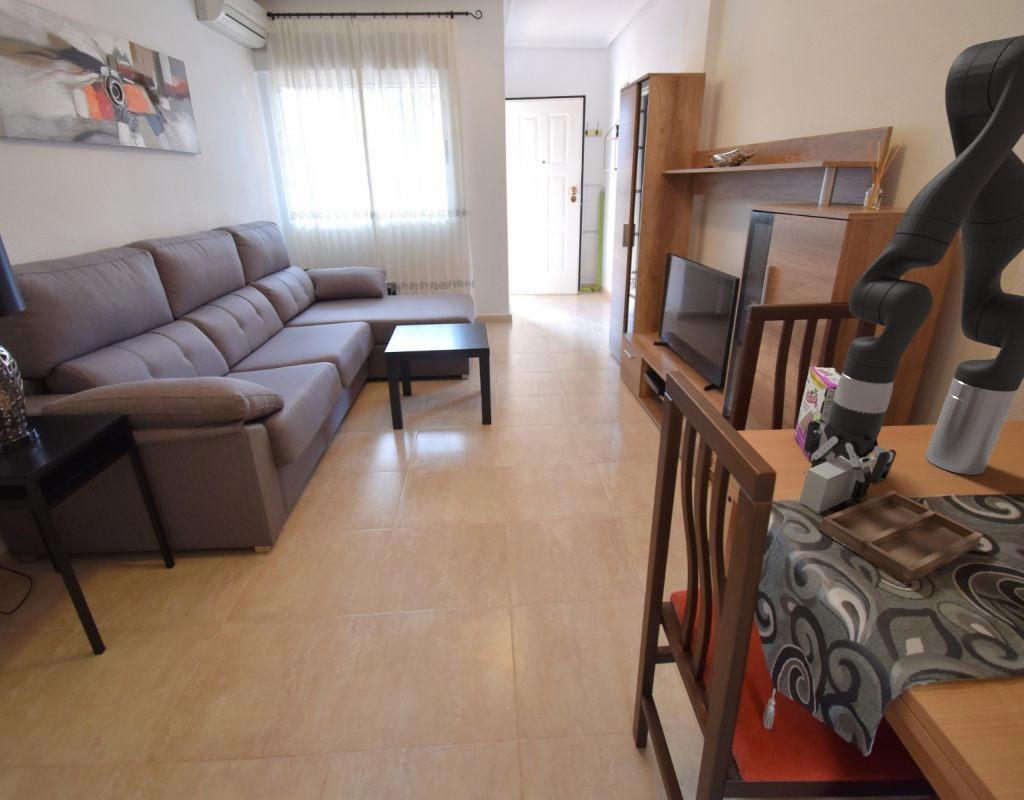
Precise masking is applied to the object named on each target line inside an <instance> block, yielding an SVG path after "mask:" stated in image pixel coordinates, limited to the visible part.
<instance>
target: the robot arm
mask: <svg viewBox="0 0 1024 800" xmlns="http://www.w3.org/2000/svg"><path fill="white" fill-rule="evenodd" d="M944 101H945V102H944V104H945V111H946V117H947V123H948V128H949V131H950V133H949V134H950V137H951V141H952V146H953V153H954V156H955V159H954V160H953V161H951V162H950V163H949V164H948V165H947V166H946V167H944V168H943V169H941V171H940V172H938V173H937V174H936V175H935V176H934V177H933V178H932V179H931V180H930V181H928V183H926V184H925V185H924V187H922V189H921V190H920V191H919V192H918V193H917V194H916V195H915V196H914V198H913V199H912V201H911V202H910V203H909V205H908V207H907V208H906V210H905V212H904V214H903V215H902V216H903V217H902V218H901V220H900V223H899V224H898V226H897V228H896V229H895V232H894V234H893V235H892V238H891V239H890V241H889V244H888V245H887V246H886V247H885V248H884V249H883V251H882V252H881V253H880V254H878V256H877V257H876V259H875V260H874V261H873V262H872V264H870V265H869V267H868V268H867V269H866V270H865V271H864V273H863V274H861V276H860V277H859V279H858V280H857V281H856V282H855V284H854V286H853V287H852V289H851V291H850V294H849V299H848V310H849V312H850V314H851V315H852V316H853V317H854V318H856V319H858V320H861V321H864V322H869V323H872V324H876V325H879V326H882V327H884V329H883V331H882V333H881V334H879V336H860V337H857V338H855V339H853V340H852V342H851V343H850V345H849V347H848V350H847V354H846V358H845V362H844V365H843V368H842V373H841V374H840V375H841V378H840V380H839V382H838V385H837V388H836V391H835V396H834V399H833V403H832V407H831V411H830V415H829V418H828V422H829V423H828V424H826V423H824V421H823V420H822V419H818V420H814V421H811V422H809V424H808V430H807V435H806V440H805V446H804V450H805V451H806V452H809V453H811V454H812V457H813V462H812V463H811V466H810V468H813V467H815V466H817V465H820V464H822V463H825V462H827V459H826V458H825V457H826V456H828V455H829V454H830V453H831V452H833V453H835V454H836V456H843V457H844V458H845V459H847V460H849V461H851V464H852V468H853V469H855V471H856V475H857V478H858V480H856V482H855V485H854V488H853V492H852V495H851V498H850V499H852V500H855V501H858V500H859V499H862V498H865V497H866V496H867V495H868V492H869V489H870V486H871V485H877V484H879V483H882V482H884V481H886V480H887V478H888V475H889V473H890V471H891V469H892V466H893V464H894V461H895V459H896V456H897V451H896V450H895V449H892V448H891V449H886V448H884V447H882V446H880V445H879V443H878V438H879V437H878V436H879V435H880V433H881V429H882V427H883V423H884V420H885V417H886V415H887V414H886V413H887V411H888V407H889V404H890V401H891V397H892V396H893V395H892V394H893V388H894V387H893V386H894V382H895V378H896V374H897V371H898V369H899V365H900V362H901V359H902V357H903V355H904V353H905V352H906V350H907V349H908V347H909V346H910V344H911V343H912V342H913V339H914V338H915V336H916V334H918V332H919V330H920V329H921V327H923V325H924V323H925V322H926V321H927V319H928V317H929V316H930V314H931V311H932V310H933V306H934V298H933V293H932V291H931V289H930V288H929V286H927V285H926V284H924V283H921V282H916V281H914V280H912V281H911V280H907V279H902V278H901V277H903V276H904V275H905V274H906V273H907V272H908V271H910V270H912V269H913V270H914V269H918V268H919V269H920V268H929V267H930V268H931V267H934V266H937V265H938V264H940V263H941V261H942V260H943V258H944V257H945V256H946V253H947V251H948V250H949V248H950V246H951V245H952V243H953V240H954V238H956V235H957V234H958V232H959V230H960V236H961V237H960V238H961V243H962V244H961V245H962V256H963V257H962V263H963V285H962V299H961V310H960V327H961V332H962V333H963V336H965V338H967V339H968V340H970V341H973V342H975V343H980V344H983V345H987V346H990V347H996V348H999V349H1000V350H999V352H998V354H997V355H996V356H995V358H991V359H968V360H963V361H961V362H960V363H958V365H957V367H956V369H955V372H954V375H953V378H952V380H951V383H950V385H949V388H948V392H947V395H946V397H945V401H943V402H944V403H943V406H942V409H941V411H940V415H939V417H938V419H937V423H936V425H935V428H934V431H933V434H932V437H931V439H930V442H929V444H928V447H927V451H926V454H925V458H926V459H927V461H928V462H930V463H931V464H933V465H934V466H936V467H939V468H940V469H943V470H946V471H949V472H952V473H957V474H960V475H969V476H970V475H971V476H973V475H975V476H976V475H977V476H978V475H981V474H983V473H985V470H986V468H987V465H988V463H989V462H990V459H991V456H992V454H993V451H994V448H995V447H996V444H997V441H998V439H999V436H1000V434H1001V432H1002V430H1003V427H1004V425H1005V422H1006V419H1007V417H1008V415H1009V413H1010V410H1011V408H1012V405H1013V403H1014V400H1015V398H1016V395H1017V394H1018V391H1019V389H1020V386H1021V384H1022V381H1023V380H1024V295H1019V294H1014V293H1009V292H1004V291H1003V289H1002V286H1001V281H1002V279H1001V277H1002V273H1003V272H1004V270H1005V269H1006V268H1007V266H1008V265H1009V264H1010V263H1011V262H1012V261H1013V260H1014V259H1015V258H1016V257H1017V256H1019V254H1020V253H1022V251H1024V161H1022V159H1021V158H1020V157H1019V156H1018V155H1017V153H1015V151H1014V150H1013V149H1014V148H1015V146H1016V145H1017V143H1018V142H1019V141H1020V139H1021V138H1022V136H1023V135H1024V34H1023V35H1017V36H1012V37H1006V38H1002V39H994V40H990V41H984V42H980V43H976V44H973V45H970V46H969V47H967V48H965V49H963V50H962V51H961V52H960V53H959V54H958V55H957V57H956V58H955V59H954V61H953V62H952V64H951V66H950V67H949V70H948V74H947V77H946V82H945V90H944ZM823 432H825V435H826V438H827V440H828V441H827V442H826V443H825V444H823V445H822V446H821V447H820V448H819V445H820V440H821V435H822V433H823ZM872 453H874V457H875V464H874V467H873V470H872V467H871V465H872V459H871V456H872V455H871V454H872ZM870 455H871V456H870ZM861 458H862V461H861V462H860V460H859V459H861Z"/></svg>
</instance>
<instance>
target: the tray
mask: <svg viewBox="0 0 1024 800" xmlns="http://www.w3.org/2000/svg"><path fill="white" fill-rule="evenodd" d="M820 529H822V530H823V531H825V532H826V533H827V534H829V535H831V536H832V537H834V538H835V539H837V540H838V541H840V542H841V543H843V544H845V545H846V546H847V547H849V548H850V549H852V550H853V551H855V552H856V553H857V554H859V555H860V556H859V555H858V556H859V557H861V556H862V557H863V558H862V557H861V558H862V559H864V558H865V559H864V560H866V559H867V560H868V561H867V560H866V561H867V562H869V561H870V562H871V564H872V563H873V564H872V565H874V564H875V565H876V566H875V565H874V566H875V567H877V566H878V567H877V568H878V569H879V570H882V571H883V570H884V572H885V573H887V574H888V575H889V576H891V575H892V577H893V576H894V577H893V578H895V577H896V578H898V579H899V580H898V579H897V580H898V581H900V580H901V581H903V582H904V583H906V584H908V585H909V583H910V584H911V582H912V581H913V582H915V581H917V580H919V579H921V578H923V577H925V576H927V575H928V574H931V573H932V572H934V571H936V570H938V569H939V568H941V567H944V566H945V565H948V564H949V563H951V562H953V561H955V560H956V558H957V559H959V558H960V557H962V556H964V555H966V554H967V553H966V552H968V553H970V552H971V551H970V550H972V549H973V550H975V549H976V548H975V547H977V546H979V545H980V543H981V540H982V538H983V533H981V532H980V531H978V530H975V529H973V528H971V527H969V526H967V525H965V524H963V523H960V522H959V521H956V520H955V519H952V518H951V517H948V516H946V515H944V514H942V513H940V512H938V511H936V510H934V509H932V508H930V507H928V506H926V505H924V504H921V503H920V502H917V501H915V499H912V498H909V497H907V496H906V495H903V494H901V493H899V492H897V491H895V490H893V489H891V490H889V491H885V492H884V493H881V494H879V495H877V496H874V497H871V498H869V499H866V500H865V501H862V502H860V503H856V504H854V505H851V506H850V507H847V508H844V509H842V510H839V511H837V512H835V513H832V514H830V515H828V516H824V517H823V518H822V521H821V522H820V526H819V530H820ZM974 548H975V549H974ZM977 548H978V547H977ZM973 550H972V551H973ZM853 551H852V552H853ZM969 551H970V552H969ZM856 553H855V554H856ZM965 553H966V554H965ZM857 554H856V555H857ZM963 554H964V555H963ZM961 555H962V556H961ZM959 556H960V557H959ZM954 559H955V560H954ZM870 562H869V563H870ZM896 578H895V579H896ZM914 580H915V581H914ZM901 581H900V582H901ZM903 582H902V583H903ZM913 582H912V583H913ZM904 583H903V584H904ZM906 584H905V585H906Z"/></svg>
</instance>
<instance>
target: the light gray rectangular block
mask: <svg viewBox="0 0 1024 800" xmlns="http://www.w3.org/2000/svg"><path fill="white" fill-rule="evenodd" d="M870 456H871V459H872V465H871V467H872V470H873V469H874V466H875V464H876V460H875V456H873V455H871V454H870ZM859 460H860V462H861V461H862V458H861V459H859ZM856 480H858V478H857V475H856V471H855V469H853V468H852V464H851V461H849V460H847V459H845V458H844V457H843V456H841V455H838V456H836V457H835V458H834V459H832V460H830V461H827V462H825V463H822V464H820V465H817V466H815V467H813V468H811V467H810V468H808V469H807V471H806V476H805V479H804V482H803V483H804V484H803V487H802V492H801V495H800V499H799V504H800V503H802V504H803V505H806V506H807V507H810V508H811V509H814V510H815V511H818V512H820V511H822V510H825V509H827V508H829V509H831V508H833V507H835V506H834V505H836V504H838V505H839V503H840V504H841V502H842V503H844V502H845V501H849V500H850V499H852V498H851V495H852V492H853V488H854V485H855V482H856ZM843 501H844V502H843ZM803 505H802V506H803ZM832 506H833V507H832ZM836 506H837V505H836ZM807 507H806V508H807ZM830 507H831V508H830ZM827 510H828V509H827ZM825 511H826V510H825Z"/></svg>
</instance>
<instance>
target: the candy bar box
mask: <svg viewBox="0 0 1024 800" xmlns="http://www.w3.org/2000/svg"><path fill="white" fill-rule="evenodd" d="M841 375H842V374H841V373H839V372H838V370H836V369H835V367H825V366H819V367H818V366H809V367H808V373H807V376H806V380H805V381H806V382H805V387H804V390H803V395H802V400H801V404H800V407H799V408H800V409H799V412H798V417H797V422H796V427H795V431H794V434H793V438H795V439H794V440H796V442H797V443H798V445H799V447H800V448H801V450H802V452H803V454H804V455H805V457H806V459H807V460H808V462H813V457H812V454H811V453H809V452H806V451H805V450H804V446H805V440H806V435H807V430H808V424H809V422H811V421H814V420H818V419H822V420H823V421H824V423H826V424H828V423H829V422H828V418H829V415H830V411H831V407H832V403H833V399H834V396H835V391H836V388H837V385H838V382H839V380H840V378H841ZM827 441H828V440H827V438H826V435H825V432H823V433H822V435H821V440H820V445H819V448H820V447H821V446H822V445H823V444H825V443H826V442H827ZM825 458H826V459H827V461H830V460H832V459H834V458H837V454H835V453H833V452H831V453H830V454H829V455H828V456H826V457H825Z"/></svg>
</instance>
